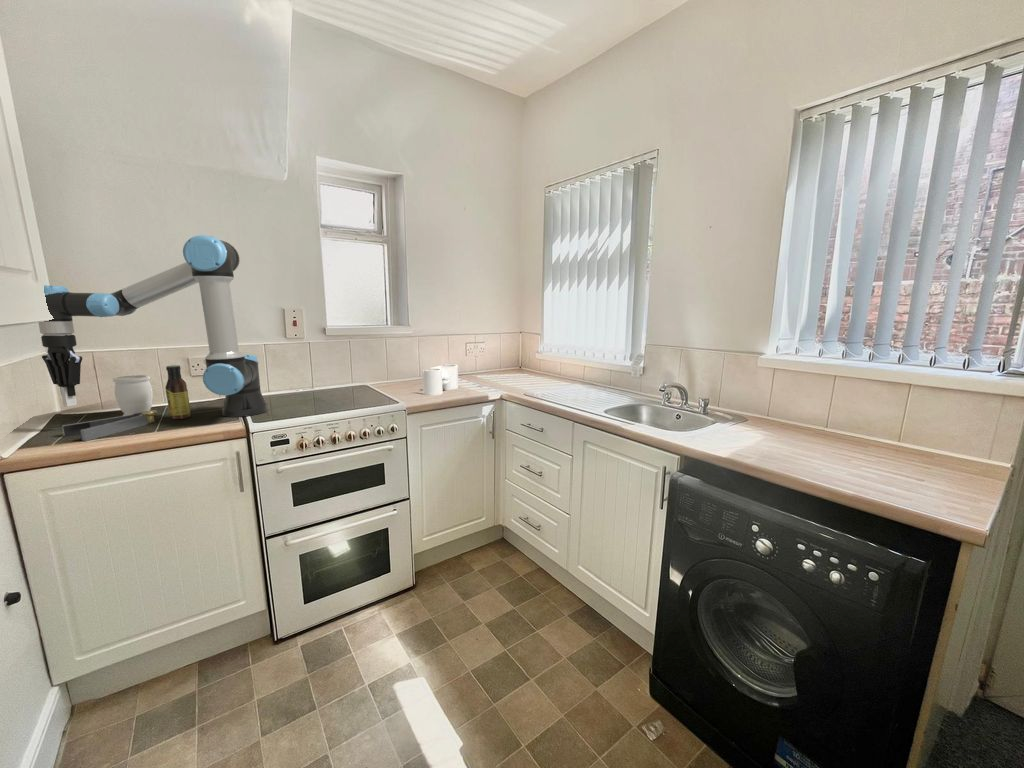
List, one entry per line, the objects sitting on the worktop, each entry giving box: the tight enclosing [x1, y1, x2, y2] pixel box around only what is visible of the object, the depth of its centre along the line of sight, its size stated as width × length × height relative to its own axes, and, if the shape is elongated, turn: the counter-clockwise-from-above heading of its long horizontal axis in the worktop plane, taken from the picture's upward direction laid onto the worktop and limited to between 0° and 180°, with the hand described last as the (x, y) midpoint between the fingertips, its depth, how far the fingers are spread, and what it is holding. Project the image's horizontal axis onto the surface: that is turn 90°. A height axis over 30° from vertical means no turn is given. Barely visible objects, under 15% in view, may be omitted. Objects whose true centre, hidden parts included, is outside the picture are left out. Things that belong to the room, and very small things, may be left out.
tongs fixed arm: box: [79, 414, 155, 442], centre depth 139 cm, size 22×3×4 cm, turn 171°
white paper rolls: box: [421, 363, 459, 396], centre depth 210 cm, size 25×10×12 cm, turn 160°
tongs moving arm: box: [61, 409, 158, 438], centre depth 141 cm, size 24×4×4 cm, turn 146°
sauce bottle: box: [165, 364, 192, 420], centre depth 154 cm, size 6×6×20 cm
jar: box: [112, 374, 154, 416], centre depth 156 cm, size 11×10×15 cm
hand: (70, 405), depth 137 cm, fingers closed
